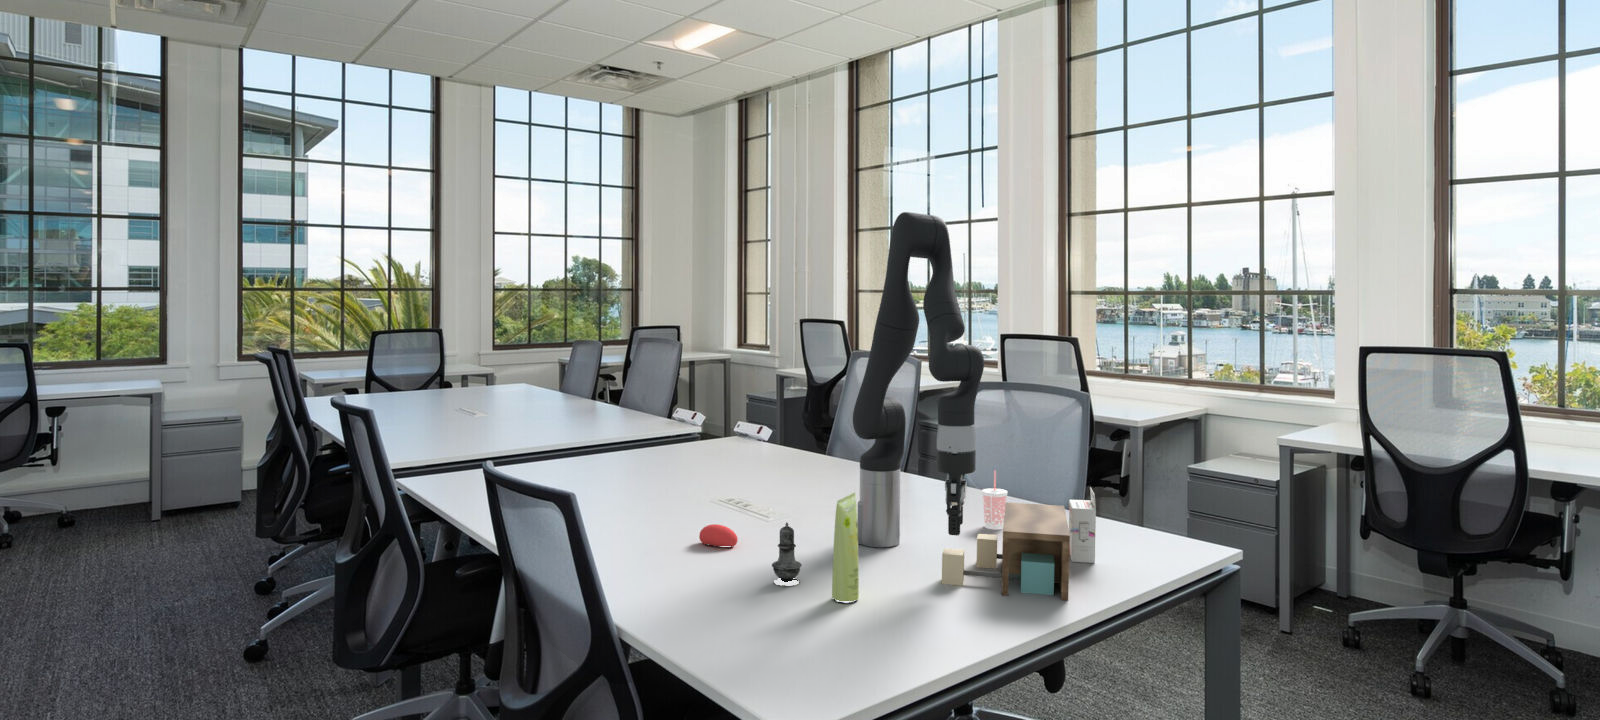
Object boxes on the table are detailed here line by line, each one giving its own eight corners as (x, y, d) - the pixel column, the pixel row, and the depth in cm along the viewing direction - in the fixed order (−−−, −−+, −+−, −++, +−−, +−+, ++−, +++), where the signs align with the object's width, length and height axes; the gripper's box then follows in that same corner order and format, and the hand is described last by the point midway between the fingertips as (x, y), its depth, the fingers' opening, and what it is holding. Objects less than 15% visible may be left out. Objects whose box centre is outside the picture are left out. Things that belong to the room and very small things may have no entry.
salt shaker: (779, 589, 168) (780, 527, 168) (766, 580, 174) (766, 520, 173) (806, 584, 171) (807, 523, 170) (793, 576, 176) (793, 517, 176)
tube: (863, 604, 160) (864, 498, 159) (836, 606, 159) (837, 499, 158) (854, 594, 166) (855, 491, 164) (828, 596, 165) (829, 493, 163)
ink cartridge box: (1067, 551, 195) (1068, 485, 194) (1090, 552, 194) (1092, 486, 193) (1070, 562, 187) (1072, 493, 186) (1095, 563, 186) (1097, 494, 185)
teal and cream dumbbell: (941, 585, 171) (941, 555, 171) (943, 576, 177) (944, 546, 176) (1053, 595, 166) (1054, 563, 165) (1052, 585, 172) (1053, 554, 171)
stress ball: (717, 558, 193) (731, 533, 193) (690, 537, 198) (704, 513, 198) (729, 560, 197) (743, 536, 198) (703, 540, 202) (716, 516, 202)
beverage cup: (1010, 526, 216) (1011, 469, 215) (1002, 531, 211) (1002, 473, 210) (986, 522, 219) (987, 467, 219) (977, 528, 214) (978, 471, 213)
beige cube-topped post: (976, 568, 182) (976, 539, 182) (977, 560, 188) (978, 532, 187) (1051, 574, 178) (1052, 545, 178) (1050, 565, 184) (1051, 537, 184)
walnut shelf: (1001, 594, 166) (1002, 531, 165) (1004, 558, 189) (1005, 502, 188) (1068, 600, 163) (1069, 535, 162) (1062, 562, 186) (1064, 505, 185)
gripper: (939, 441, 179) (939, 520, 180) (933, 452, 166) (933, 537, 167) (977, 442, 178) (976, 522, 179) (973, 453, 164) (973, 539, 165)
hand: (955, 529), depth 173 cm, fingers open, 8 cm apart
